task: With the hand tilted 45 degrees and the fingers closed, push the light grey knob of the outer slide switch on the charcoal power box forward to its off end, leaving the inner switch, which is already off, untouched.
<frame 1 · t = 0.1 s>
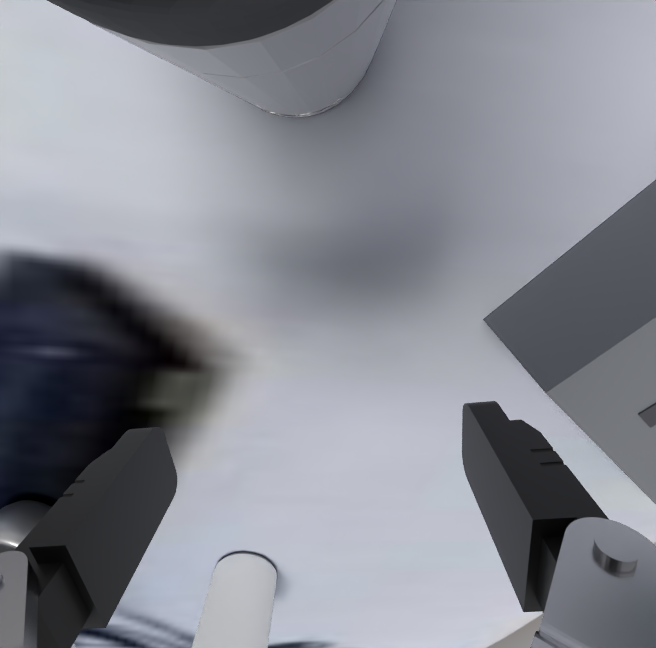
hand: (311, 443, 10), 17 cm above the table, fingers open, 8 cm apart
plastic bottle: (44, 512, 37), on the table
can: (247, 568, 40), on the table
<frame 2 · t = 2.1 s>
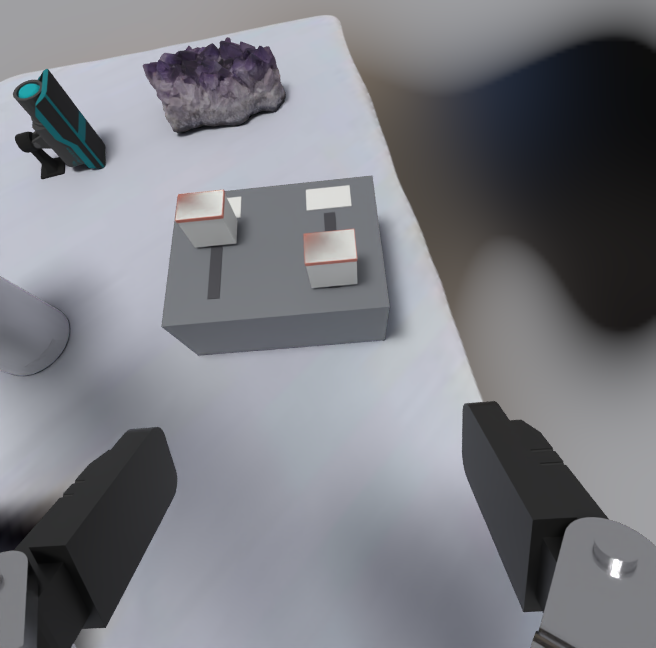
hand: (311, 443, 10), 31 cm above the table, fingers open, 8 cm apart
geode: (225, 107, 62), on the table
switch b: (208, 219, 38), point 12 cm above the table, slide at 6.0 cm
switch a: (331, 260, 35), point 12 cm above the table, slide at 0.0 cm
surveillance camera: (75, 164, 60), on the table
power box: (289, 287, 48), on the table
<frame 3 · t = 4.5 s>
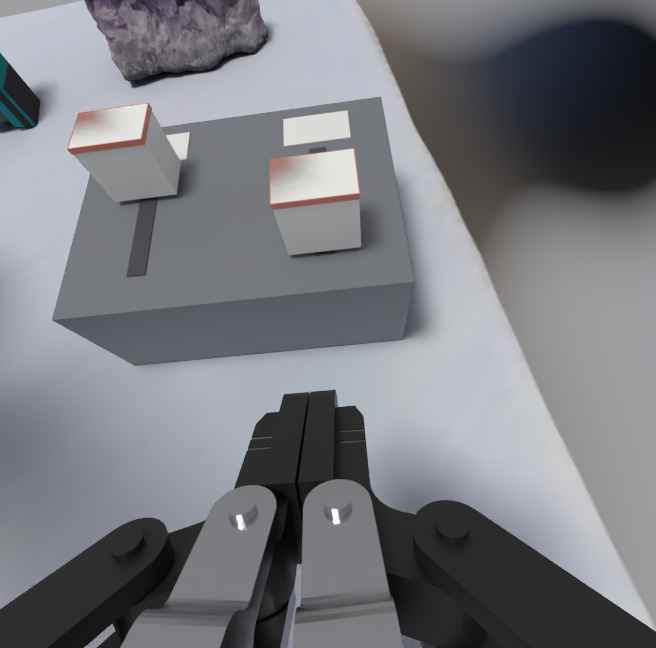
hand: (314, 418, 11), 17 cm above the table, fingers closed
geode: (192, 53, 49), on the table
switch b: (130, 155, 25), point 12 cm above the table, slide at 6.0 cm
switch a: (318, 205, 22), point 12 cm above the table, slide at 0.0 cm
surveillance camera: (1, 124, 47), on the table
power box: (265, 268, 34), on the table
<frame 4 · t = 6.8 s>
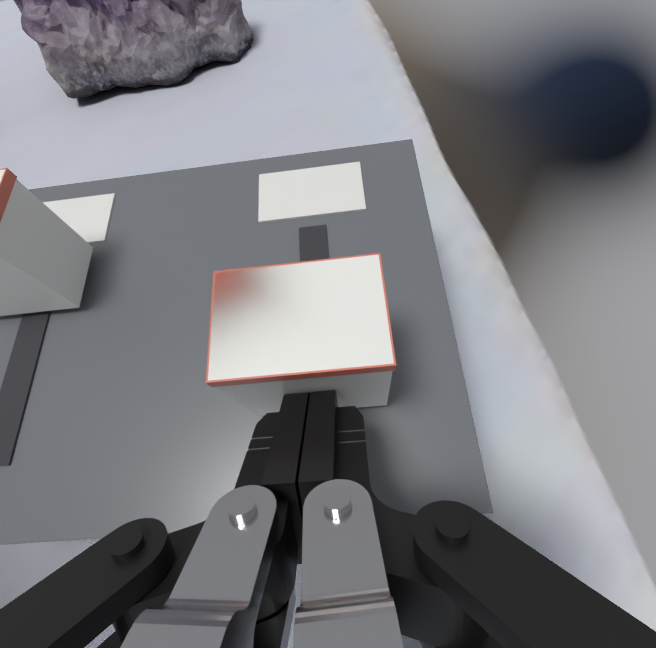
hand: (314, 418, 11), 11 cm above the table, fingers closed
geode: (157, 61, 39), on the table
switch a: (310, 346, 12), point 12 cm above the table, slide at 1.0 cm, touching gripper
power box: (240, 375, 24), on the table
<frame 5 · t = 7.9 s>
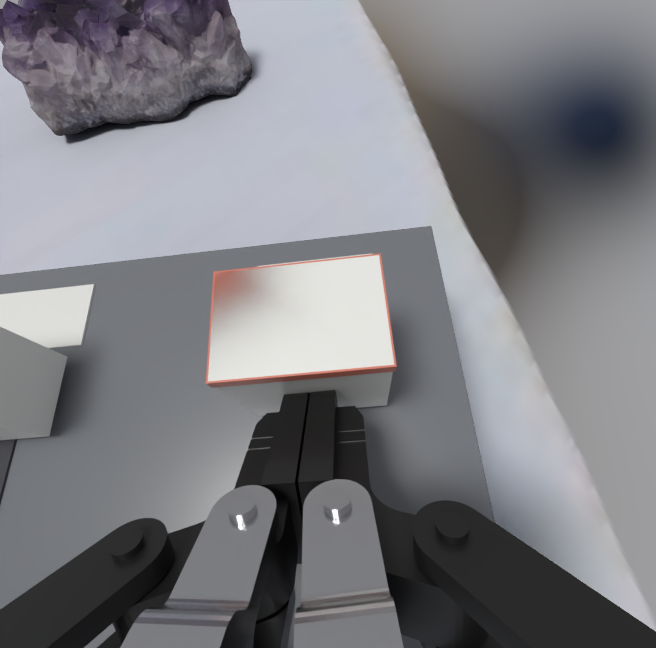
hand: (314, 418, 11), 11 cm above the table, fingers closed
geode: (151, 93, 37), on the table
switch a: (310, 346, 12), point 12 cm above the table, slide at 6.1 cm, touching gripper
power box: (236, 462, 22), on the table
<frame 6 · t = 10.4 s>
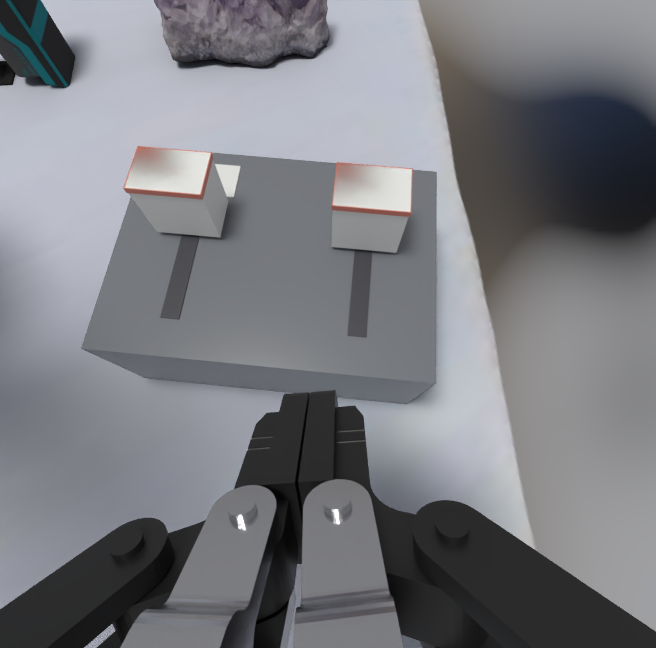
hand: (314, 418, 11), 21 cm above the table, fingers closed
geode: (246, 41, 47), on the table
switch b: (181, 195, 25), point 12 cm above the table, slide at 6.0 cm
switch a: (368, 210, 24), point 12 cm above the table, slide at 6.1 cm
surveillance camera: (29, 74, 44), on the table
power box: (287, 303, 35), on the table
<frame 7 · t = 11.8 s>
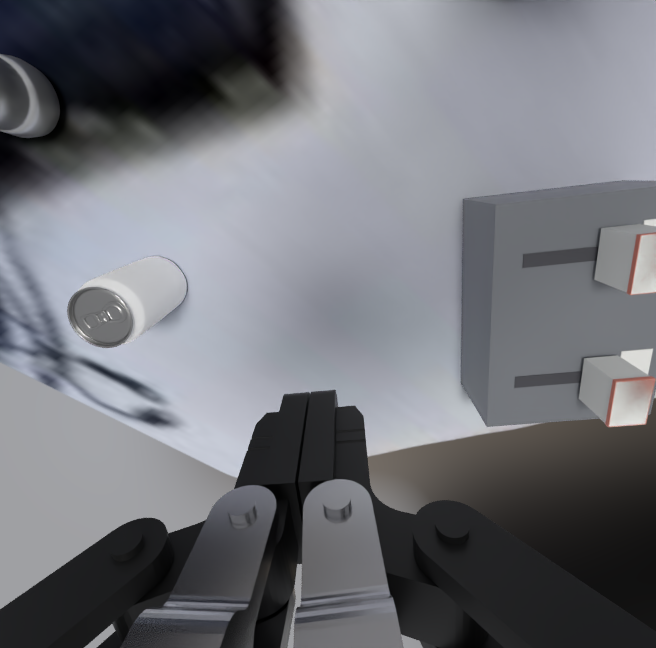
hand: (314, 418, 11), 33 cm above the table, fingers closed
plastic bottle: (39, 103, 38), on the table
switch b: (635, 257, 30), point 12 cm above the table, slide at 6.0 cm
switch a: (613, 389, 34), point 12 cm above the table, slide at 6.1 cm
power box: (533, 292, 43), on the table
can: (161, 282, 44), on the table
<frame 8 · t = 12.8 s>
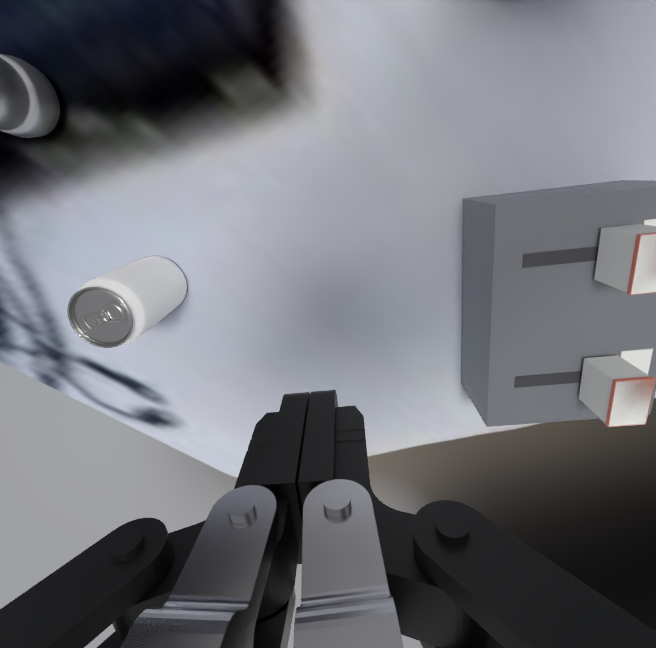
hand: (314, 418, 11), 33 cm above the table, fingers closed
plastic bottle: (39, 103, 38), on the table
switch b: (635, 257, 30), point 12 cm above the table, slide at 6.0 cm
switch a: (613, 389, 34), point 12 cm above the table, slide at 6.1 cm
power box: (533, 291, 43), on the table
can: (161, 282, 44), on the table
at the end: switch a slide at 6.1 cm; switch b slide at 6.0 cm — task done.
